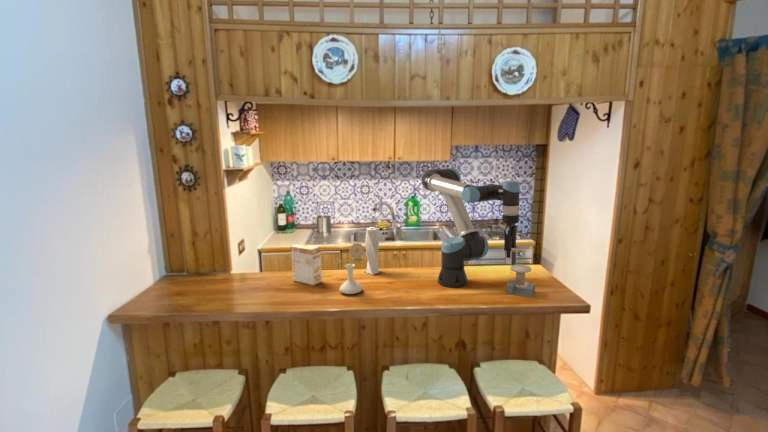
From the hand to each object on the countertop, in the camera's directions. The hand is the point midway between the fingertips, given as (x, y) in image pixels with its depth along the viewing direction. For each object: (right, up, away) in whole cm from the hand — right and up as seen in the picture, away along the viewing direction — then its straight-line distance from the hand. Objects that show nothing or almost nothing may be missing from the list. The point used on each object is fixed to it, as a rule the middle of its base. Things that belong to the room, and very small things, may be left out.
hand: (510, 262), depth 196 cm
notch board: (+6, -15, +3) cm, 17 cm away
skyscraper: (-66, -10, +36) cm, 76 cm away
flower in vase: (-76, -16, +8) cm, 78 cm away
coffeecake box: (-101, -13, +24) cm, 105 cm away
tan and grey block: (0, 0, 0) cm, 0 cm away
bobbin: (+9, -13, +13) cm, 21 cm away
